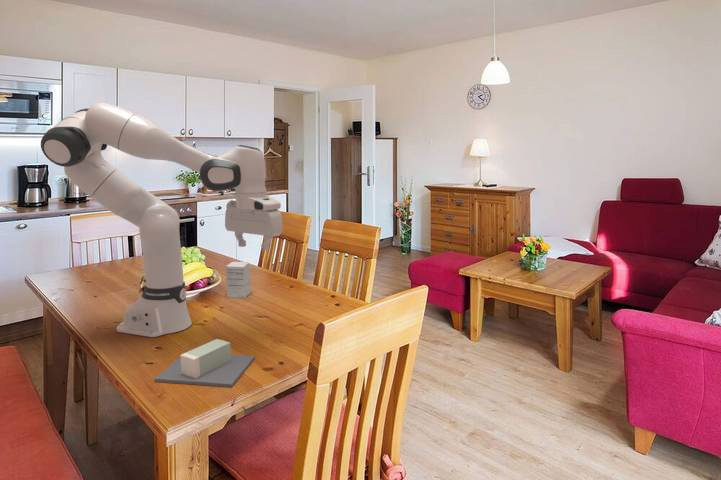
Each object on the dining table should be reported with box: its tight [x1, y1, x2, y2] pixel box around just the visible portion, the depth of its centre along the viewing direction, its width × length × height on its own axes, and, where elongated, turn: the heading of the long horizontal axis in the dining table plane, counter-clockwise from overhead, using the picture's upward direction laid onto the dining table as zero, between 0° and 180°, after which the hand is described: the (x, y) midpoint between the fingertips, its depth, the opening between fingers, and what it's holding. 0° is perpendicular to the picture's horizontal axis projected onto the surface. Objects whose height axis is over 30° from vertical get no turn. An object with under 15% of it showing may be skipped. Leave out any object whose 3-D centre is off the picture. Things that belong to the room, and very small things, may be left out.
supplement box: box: [225, 261, 252, 299], centre depth 184 cm, size 7×7×13 cm
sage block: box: [179, 338, 232, 378], centre depth 122 cm, size 5×5×12 cm
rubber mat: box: [154, 351, 256, 388], centre depth 123 cm, size 20×16×1 cm
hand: (253, 248), depth 140 cm, fingers open, 8 cm apart
